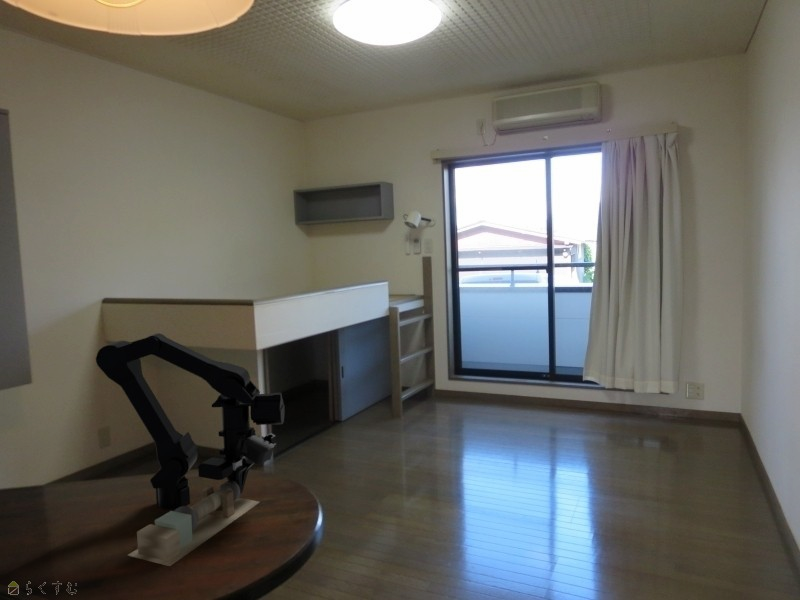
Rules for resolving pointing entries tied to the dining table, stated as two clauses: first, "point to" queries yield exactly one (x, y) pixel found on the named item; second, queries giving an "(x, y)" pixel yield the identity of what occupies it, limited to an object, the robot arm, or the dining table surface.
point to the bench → (166, 543)
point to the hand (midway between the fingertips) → (239, 493)
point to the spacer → (177, 525)
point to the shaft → (209, 503)
